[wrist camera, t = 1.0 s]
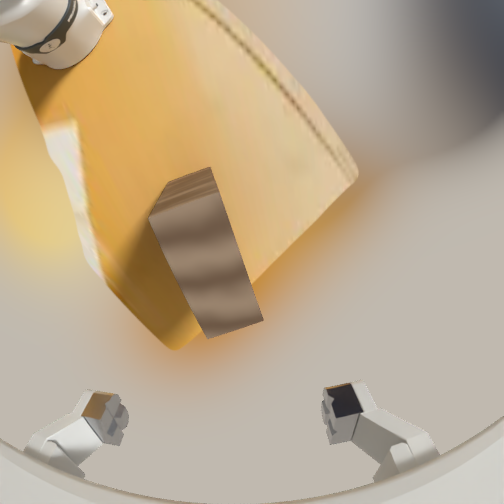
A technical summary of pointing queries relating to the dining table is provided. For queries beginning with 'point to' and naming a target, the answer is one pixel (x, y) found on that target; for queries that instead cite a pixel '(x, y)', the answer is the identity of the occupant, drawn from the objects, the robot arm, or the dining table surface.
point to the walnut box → (204, 254)
